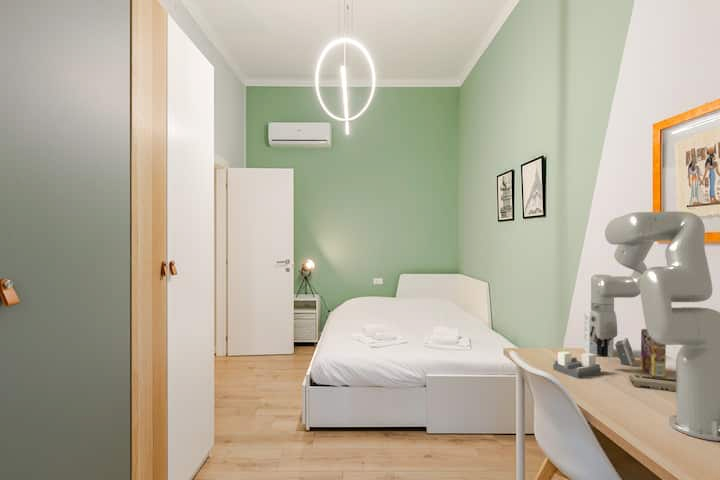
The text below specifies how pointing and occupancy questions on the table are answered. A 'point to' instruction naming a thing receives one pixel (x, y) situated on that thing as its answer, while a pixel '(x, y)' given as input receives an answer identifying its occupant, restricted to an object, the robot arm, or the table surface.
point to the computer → (653, 382)
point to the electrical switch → (625, 352)
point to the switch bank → (577, 368)
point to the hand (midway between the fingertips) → (602, 355)
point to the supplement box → (590, 345)
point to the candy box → (652, 355)
